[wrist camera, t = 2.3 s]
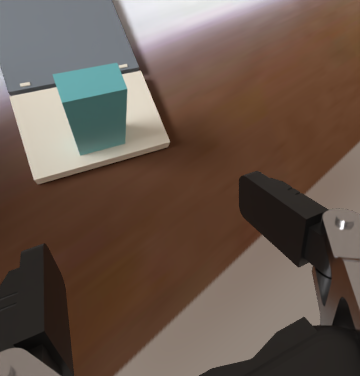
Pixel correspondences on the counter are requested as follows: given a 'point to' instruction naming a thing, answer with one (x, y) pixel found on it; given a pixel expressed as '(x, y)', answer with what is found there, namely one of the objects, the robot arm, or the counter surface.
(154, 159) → the counter surface
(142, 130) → the teal block on base
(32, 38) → the board
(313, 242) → the robot arm
